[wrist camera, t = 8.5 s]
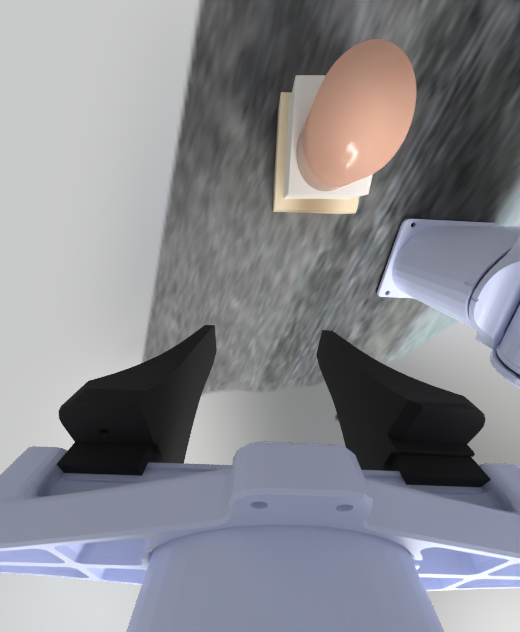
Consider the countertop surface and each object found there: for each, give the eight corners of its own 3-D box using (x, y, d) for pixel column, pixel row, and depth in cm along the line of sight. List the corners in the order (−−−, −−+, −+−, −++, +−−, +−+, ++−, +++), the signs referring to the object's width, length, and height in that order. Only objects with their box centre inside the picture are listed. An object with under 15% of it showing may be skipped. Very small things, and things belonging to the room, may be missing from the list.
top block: (367, 105, 13) (395, 75, 10) (349, 199, 15) (368, 194, 13) (288, 105, 13) (295, 75, 10) (283, 198, 15) (288, 193, 13)
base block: (362, 117, 15) (383, 95, 13) (342, 214, 18) (355, 212, 16) (277, 114, 15) (280, 92, 13) (272, 211, 18) (274, 210, 16)
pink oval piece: (378, 103, 11) (437, 46, 7) (354, 194, 13) (390, 184, 9) (303, 95, 11) (324, 32, 7) (291, 188, 13) (302, 175, 9)
